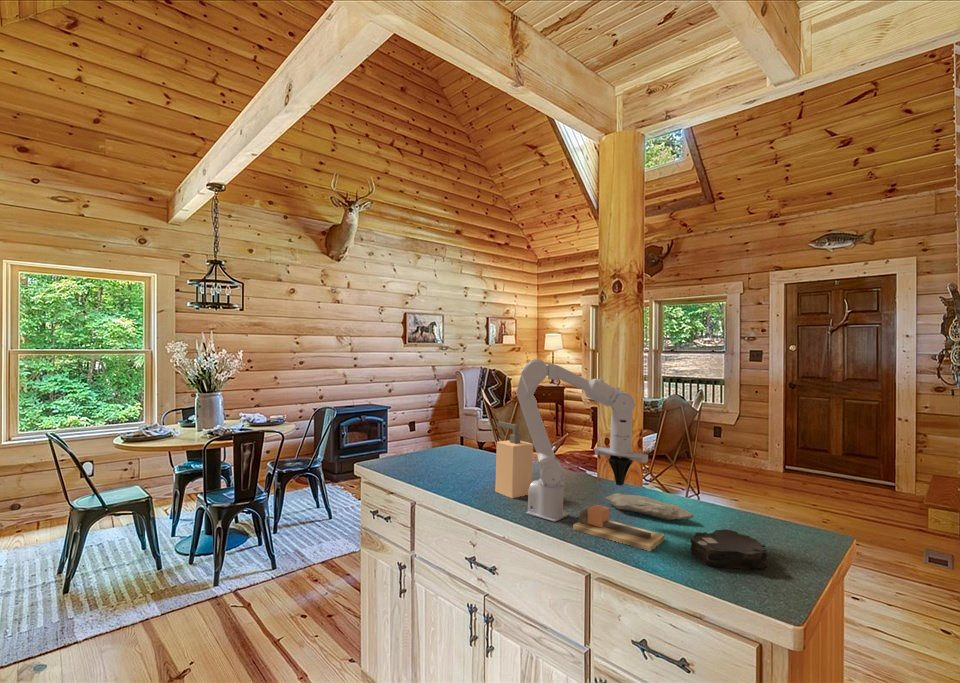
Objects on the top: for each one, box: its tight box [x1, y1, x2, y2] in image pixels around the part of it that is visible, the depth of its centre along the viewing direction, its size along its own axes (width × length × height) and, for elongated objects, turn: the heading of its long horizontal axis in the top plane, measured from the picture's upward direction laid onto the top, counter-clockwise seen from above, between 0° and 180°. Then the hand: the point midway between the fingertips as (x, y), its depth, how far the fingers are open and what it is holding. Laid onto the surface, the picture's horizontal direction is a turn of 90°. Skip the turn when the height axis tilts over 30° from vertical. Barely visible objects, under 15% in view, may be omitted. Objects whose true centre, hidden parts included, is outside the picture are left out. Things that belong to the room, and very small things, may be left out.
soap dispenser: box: [494, 420, 534, 499], centre depth 157 cm, size 13×9×22 cm
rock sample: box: [689, 529, 769, 570], centre depth 109 cm, size 18×16×5 cm
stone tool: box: [605, 492, 695, 521], centre depth 138 cm, size 12×5×25 cm
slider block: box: [587, 504, 611, 527], centre depth 125 cm, size 4×5×4 cm
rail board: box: [572, 507, 666, 552], centre depth 121 cm, size 20×10×4 cm, turn 51°
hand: (619, 484), depth 132 cm, fingers closed
